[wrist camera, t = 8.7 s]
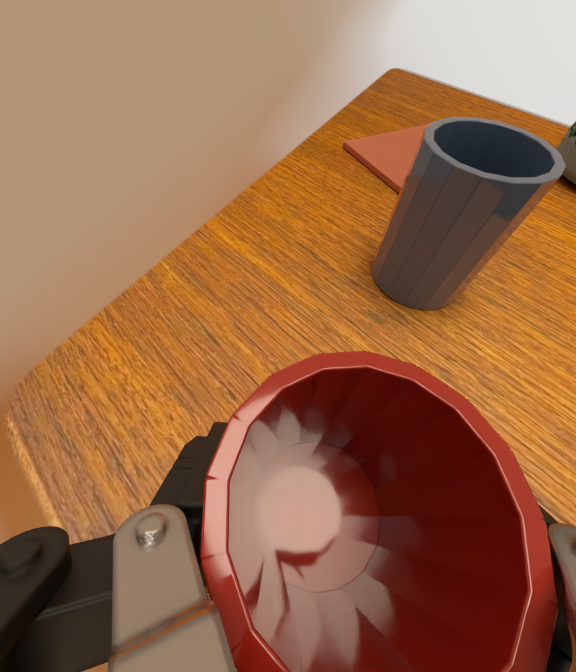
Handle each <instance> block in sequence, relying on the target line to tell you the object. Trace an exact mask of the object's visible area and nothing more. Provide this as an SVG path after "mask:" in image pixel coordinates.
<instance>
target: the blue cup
mask: <svg viewBox="0 0 576 672" xmlns="http://www.w3.org/2000/svg"><path fill="white" fill-rule="evenodd" d="M565 168H566V164H565V162H564V160H563V158H562V155H561V153H560V152H559V151H557V150H556V149H555V148H554V147H553V146H551V145H550V144H549V143H548V142H547V141H545V140H544V139H542V138H540V137H538V136H536V135H534V134H532V133H530V132H528V131H526V130H524V129H521V128H518V127H515V126H512V125H509V124H506V123H503V122H499V121H494V120H488V119H483V118H477V117H476V118H475V117H450V118H445V119H440V120H436V121H434V122H433V123H432V124H430V125H429V126H428V127H426V128H425V130H424V133H423V135H422V138H421V140H420V143H419V145H418V148H417V150H416V153H415V155H414V158H413V160H412V163H411V165H410V168H409V170H408V173H407V175H406V178H405V180H404V183H403V185H402V188H401V191H400V193H399V196H398V198H397V201H396V203H395V206H394V208H393V211H392V213H391V216H390V218H389V221H388V223H387V226H386V228H385V231H384V233H383V236H382V238H381V241H380V243H379V246H378V248H377V251H376V254H375V258H374V260H373V263H372V275H373V278H374V280H375V282H376V284H377V285H378V287H379V288H380V289H381V290H382V291H383V292H384V293H385V294H386V295H387V296H388V297H390V298H391V299H393V300H394V301H396V302H398V303H400V304H402V305H405V306H408V307H411V308H415V309H421V310H434V309H439V308H443V307H445V306H447V305H449V304H451V303H452V302H453V301H454V300H455V299H456V298H457V297H458V296H459V295H460V294H461V293H462V292H463V291H464V289H465V288H466V287H467V286H468V285H469V284H470V282H471V281H472V280H473V279H474V278H475V277H476V275H477V274H478V273H479V272H480V271H481V270H482V268H483V267H484V266H485V265H486V264H487V262H488V261H489V260H490V259H491V258H492V257H493V255H494V254H495V253H496V252H497V251H498V250H499V248H500V247H501V246H502V245H503V244H504V243H505V241H506V240H507V239H508V238H509V237H510V236H511V234H512V233H513V232H514V231H515V230H516V229H517V227H518V226H519V225H520V224H521V223H522V221H523V220H524V219H525V218H526V217H527V216H528V214H529V213H530V212H531V211H532V210H533V209H534V207H535V206H536V205H537V204H538V203H539V202H540V200H541V199H542V198H543V197H544V196H545V195H546V193H547V192H548V191H549V190H550V189H551V188H552V186H553V185H554V184H555V183H556V182H557V180H558V179H559V178H560V177H561V175H562V173H563V171H564V170H565Z"/></svg>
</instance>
